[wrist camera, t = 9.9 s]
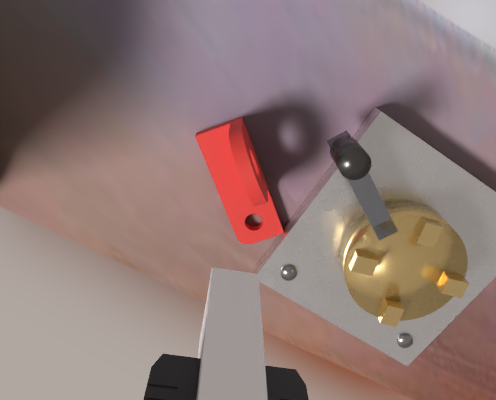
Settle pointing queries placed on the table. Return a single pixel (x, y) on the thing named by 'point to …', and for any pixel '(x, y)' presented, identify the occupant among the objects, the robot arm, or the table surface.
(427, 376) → the table surface
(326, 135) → the table surface
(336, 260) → the flange plate
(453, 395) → the table surface
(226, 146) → the bracket
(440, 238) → the ball knob lever
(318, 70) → the table surface
